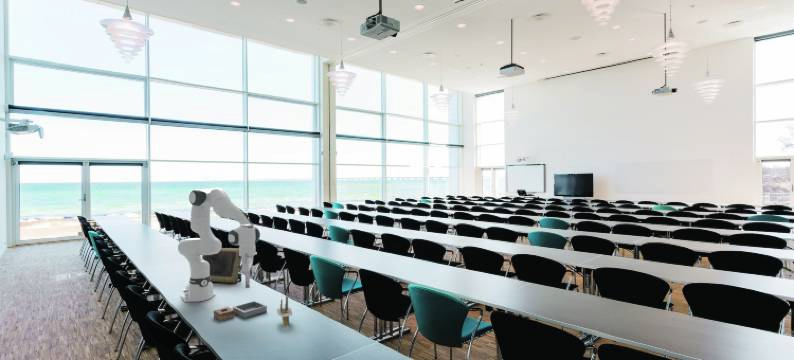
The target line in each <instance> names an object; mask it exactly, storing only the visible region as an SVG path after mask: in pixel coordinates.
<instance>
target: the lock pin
mask: <svg viewBox="0 0 794 360" xmlns="http://www.w3.org/2000/svg"><path fill="white" fill-rule="evenodd" d="M250 272H251V271H250ZM250 272H249V277H245V276H244V279H245V281H244V283H245V285H244V286H245V287H244V288H245V289H249V288H250V287H251V280H250V277H251V275H250V274H251V273H250Z"/></svg>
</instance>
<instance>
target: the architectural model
mask: <svg viewBox="0 0 794 360" xmlns="http://www.w3.org/2000/svg"><path fill="white" fill-rule="evenodd" d="M276 313H277V315H278V317H281V320H282V326H283V327H290V317H291V316H293V311H292V308H290V307H289V296H285V303H284V307H283V299H282V298H281V299H280V304H279V308H276Z"/></svg>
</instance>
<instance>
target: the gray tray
mask: <svg viewBox="0 0 794 360" xmlns="http://www.w3.org/2000/svg"><path fill="white" fill-rule="evenodd" d="M232 309H234V310H235V316H238V317H240V318H242V319H243V320H244V319H245V320H246V319H249V318H251V317H252V318H253V317H255V316H258V315H262V314H265V313H267V312H268V310H267V309H268V306H267V305H266V304H263V303H261V302H258V301H256V300H253V301H249V302H245V303H241V304H237V305H234V306H232Z"/></svg>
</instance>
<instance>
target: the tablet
mask: <svg viewBox="0 0 794 360" xmlns="http://www.w3.org/2000/svg"><path fill="white" fill-rule="evenodd" d="M201 258H202V259H203V260H205V261H207V262H208V263H209V265H210V276H211V281H210V282H212V283H213V282H214V283H223V284H225V283H226V284H232V285H233V284H237V283H238V281H240V282H241V281H242V276H243V275H242V273H241V272H239V267H240V265H241V264H242V256H239V247H237V248H232V247H229V248H227V247H225V248H224V247H221V250H220V251H219V253H217V254H212V255H201Z"/></svg>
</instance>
